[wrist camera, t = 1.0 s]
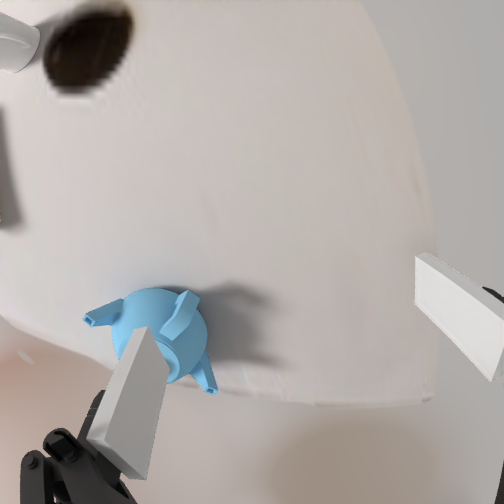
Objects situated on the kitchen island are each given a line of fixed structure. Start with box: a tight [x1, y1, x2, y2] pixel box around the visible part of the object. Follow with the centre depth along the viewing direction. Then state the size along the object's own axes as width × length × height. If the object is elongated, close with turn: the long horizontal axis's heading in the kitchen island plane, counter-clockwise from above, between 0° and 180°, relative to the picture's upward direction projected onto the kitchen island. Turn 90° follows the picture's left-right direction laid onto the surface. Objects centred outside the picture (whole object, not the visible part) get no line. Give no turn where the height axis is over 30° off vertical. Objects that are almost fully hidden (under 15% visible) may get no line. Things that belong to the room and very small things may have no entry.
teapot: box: [83, 288, 218, 395], centre depth 36 cm, size 15×15×11 cm
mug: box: [0, 12, 40, 73], centre depth 19 cm, size 12×8×12 cm
